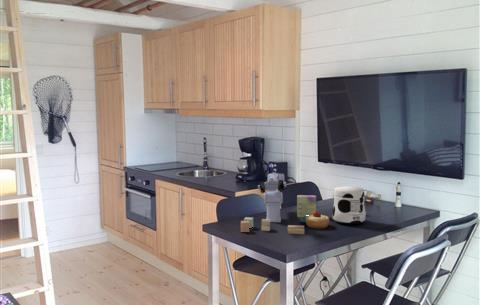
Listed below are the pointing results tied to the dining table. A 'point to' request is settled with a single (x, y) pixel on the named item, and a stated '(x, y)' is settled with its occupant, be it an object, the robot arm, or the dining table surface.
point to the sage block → (249, 221)
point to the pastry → (317, 221)
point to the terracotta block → (244, 226)
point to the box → (306, 205)
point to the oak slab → (295, 229)
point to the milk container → (349, 205)
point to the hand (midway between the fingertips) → (271, 189)
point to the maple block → (265, 224)
